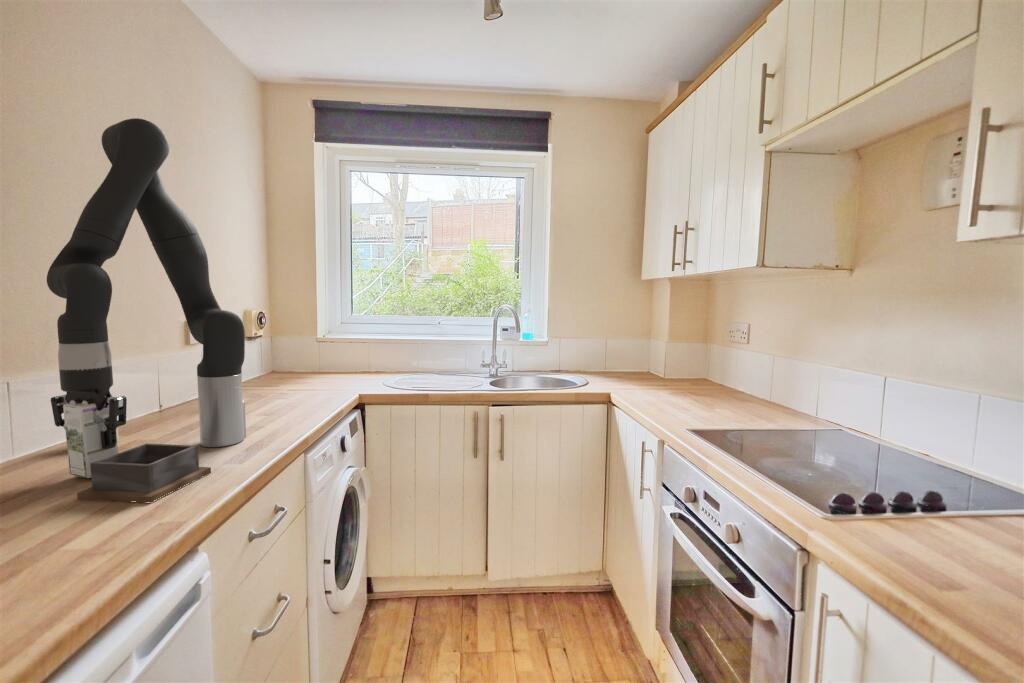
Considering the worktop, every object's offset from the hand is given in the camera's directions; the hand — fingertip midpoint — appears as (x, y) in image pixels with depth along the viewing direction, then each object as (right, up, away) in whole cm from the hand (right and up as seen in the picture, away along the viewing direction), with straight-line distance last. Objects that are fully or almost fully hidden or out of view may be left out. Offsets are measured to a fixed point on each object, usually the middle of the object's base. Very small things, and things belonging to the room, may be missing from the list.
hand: (92, 447), depth 89 cm
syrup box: (0, -5, +1) cm, 5 cm away
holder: (+14, -6, -4) cm, 16 cm away
